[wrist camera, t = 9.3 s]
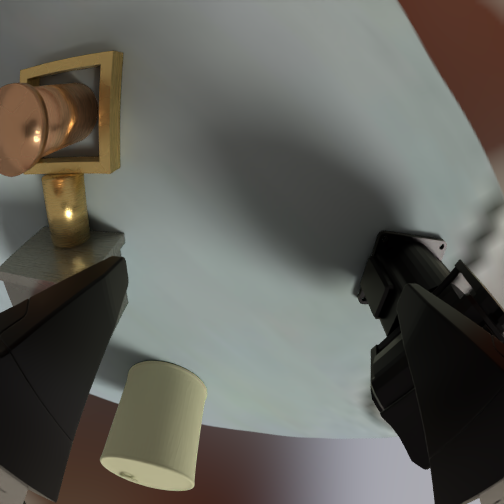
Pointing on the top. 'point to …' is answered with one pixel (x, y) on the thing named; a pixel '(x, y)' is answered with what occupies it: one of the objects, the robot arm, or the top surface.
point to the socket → (107, 113)
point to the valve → (59, 242)
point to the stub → (42, 122)
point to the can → (157, 427)
